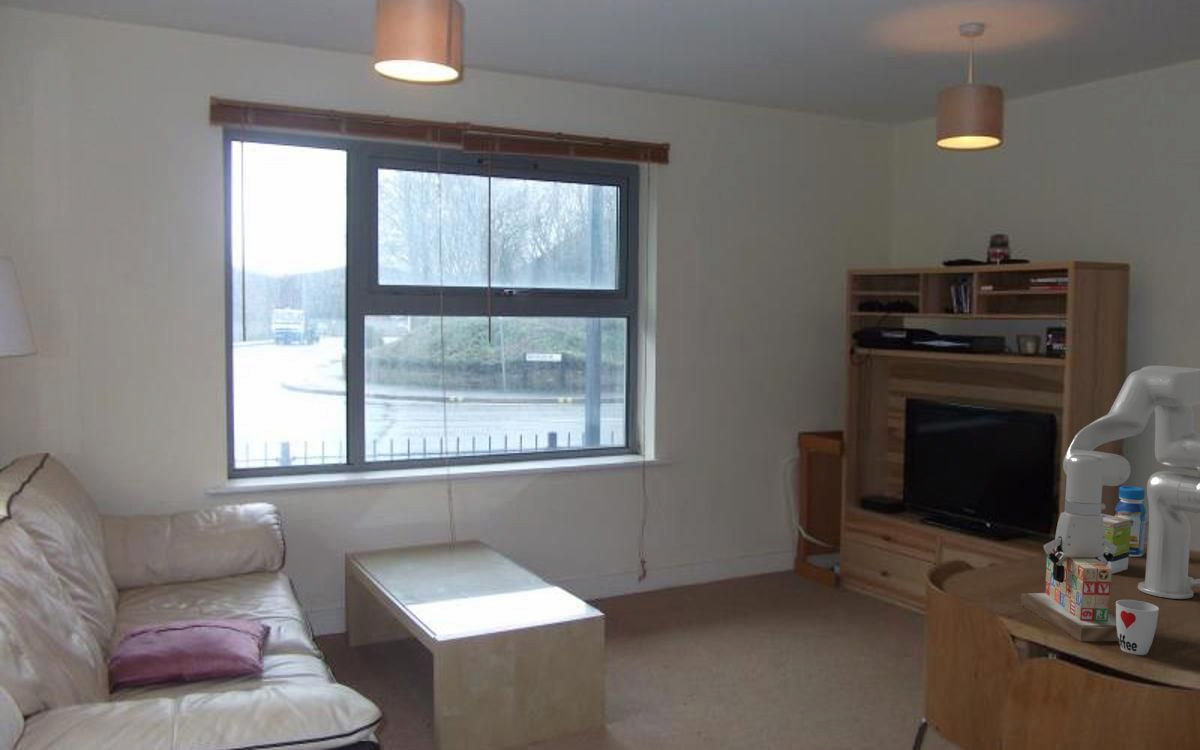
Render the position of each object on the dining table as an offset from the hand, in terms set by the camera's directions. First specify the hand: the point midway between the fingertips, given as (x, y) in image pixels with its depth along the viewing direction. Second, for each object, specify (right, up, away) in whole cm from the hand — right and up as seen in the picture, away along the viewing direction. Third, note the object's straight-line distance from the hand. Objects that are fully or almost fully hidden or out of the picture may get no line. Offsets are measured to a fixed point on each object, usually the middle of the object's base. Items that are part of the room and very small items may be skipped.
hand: (1078, 581), depth 233 cm
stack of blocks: (0, -7, +2) cm, 7 cm away
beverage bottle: (+47, -6, +67) cm, 82 cm away
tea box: (+29, -7, +52) cm, 60 cm away
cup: (+3, -12, -18) cm, 22 cm away
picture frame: (0, -10, +1) cm, 10 cm away
